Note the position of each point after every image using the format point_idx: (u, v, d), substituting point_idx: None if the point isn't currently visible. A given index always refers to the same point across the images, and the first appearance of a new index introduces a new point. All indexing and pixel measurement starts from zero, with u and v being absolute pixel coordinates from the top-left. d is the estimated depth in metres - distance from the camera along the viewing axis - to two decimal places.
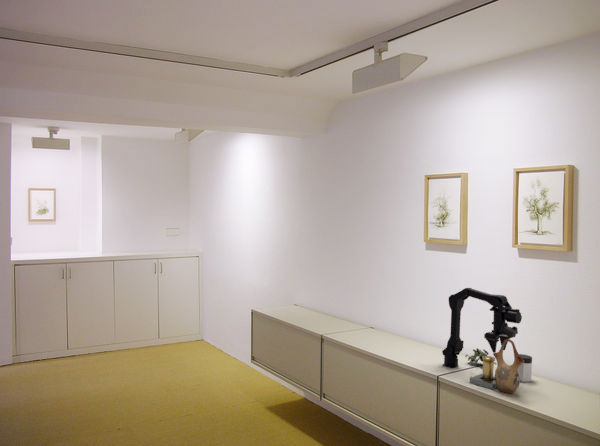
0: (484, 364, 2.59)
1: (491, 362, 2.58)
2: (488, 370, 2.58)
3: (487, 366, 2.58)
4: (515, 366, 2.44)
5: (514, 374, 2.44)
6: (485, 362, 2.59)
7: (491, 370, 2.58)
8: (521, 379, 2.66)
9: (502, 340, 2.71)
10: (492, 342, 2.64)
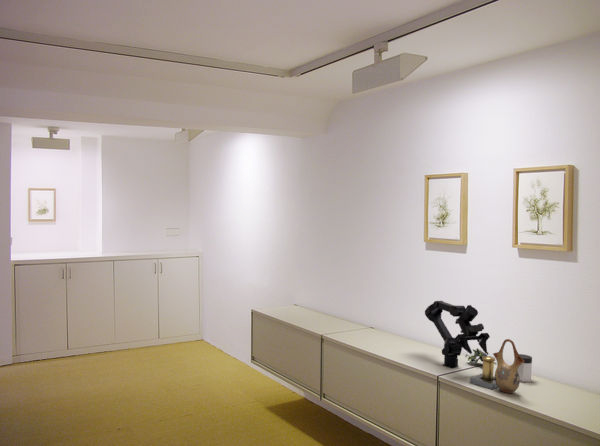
0: (484, 364, 2.59)
1: (491, 362, 2.58)
2: (488, 370, 2.58)
3: (487, 366, 2.58)
4: (515, 366, 2.44)
5: (514, 374, 2.44)
6: (485, 362, 2.59)
7: (491, 370, 2.58)
8: (521, 379, 2.66)
9: (481, 345, 2.72)
10: (464, 345, 2.68)
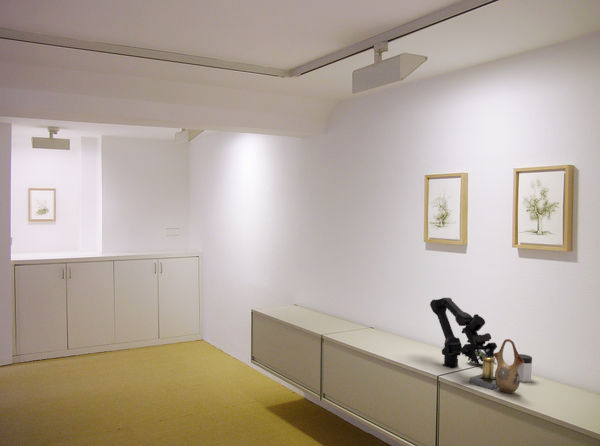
0: (484, 364, 2.59)
1: (491, 362, 2.58)
2: (488, 370, 2.58)
3: (487, 366, 2.58)
4: (515, 366, 2.44)
5: (514, 374, 2.44)
6: (485, 362, 2.59)
7: (491, 370, 2.58)
8: (521, 379, 2.66)
9: (489, 355, 2.67)
10: (471, 355, 2.63)
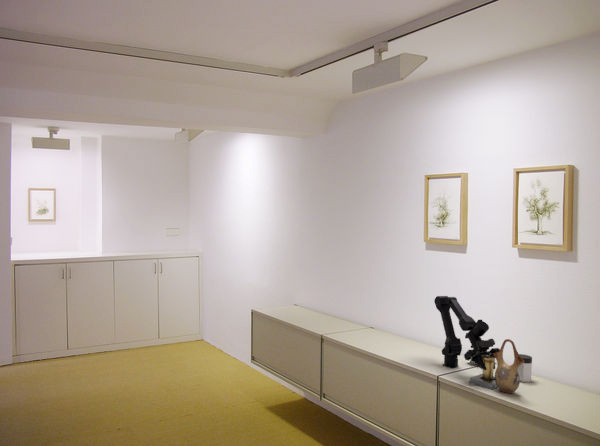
0: (484, 364, 2.59)
1: (491, 362, 2.58)
2: (488, 370, 2.58)
3: (487, 366, 2.58)
4: (515, 366, 2.44)
5: (514, 374, 2.44)
6: (485, 362, 2.59)
7: (491, 370, 2.58)
8: (521, 379, 2.66)
9: None
10: (478, 360, 2.61)
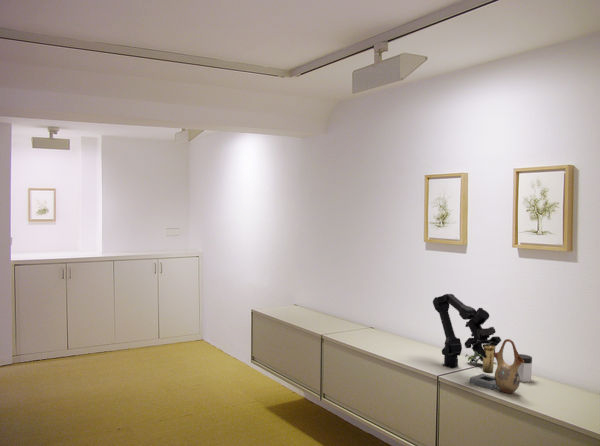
0: None
1: (491, 350, 2.58)
2: (488, 358, 2.58)
3: (488, 354, 2.58)
4: (515, 366, 2.44)
5: (514, 374, 2.44)
6: (485, 350, 2.59)
7: (491, 358, 2.58)
8: (521, 379, 2.66)
9: None
10: (478, 348, 2.61)
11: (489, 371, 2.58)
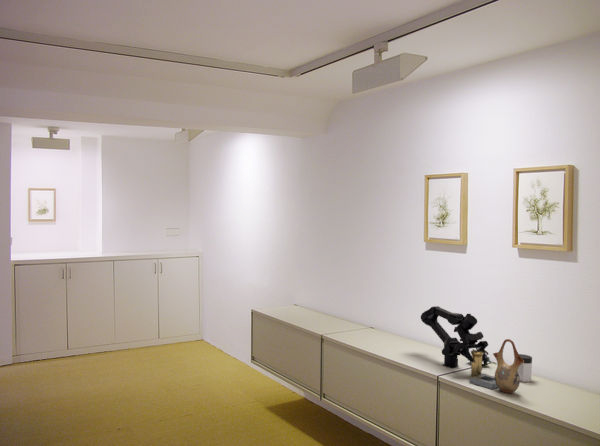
0: (473, 358, 2.69)
1: (480, 356, 2.68)
2: (477, 364, 2.68)
3: (476, 360, 2.68)
4: (515, 366, 2.44)
5: (514, 374, 2.44)
6: (474, 356, 2.69)
7: (480, 364, 2.68)
8: (521, 379, 2.66)
9: None
10: (466, 353, 2.70)
11: None
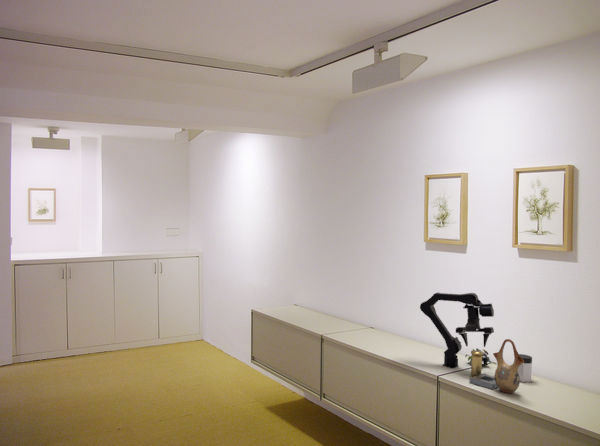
0: (473, 358, 2.69)
1: (480, 356, 2.68)
2: (477, 364, 2.68)
3: (476, 360, 2.68)
4: (515, 366, 2.44)
5: (514, 374, 2.44)
6: (474, 356, 2.69)
7: (480, 364, 2.68)
8: (521, 379, 2.66)
9: None
10: None
11: None
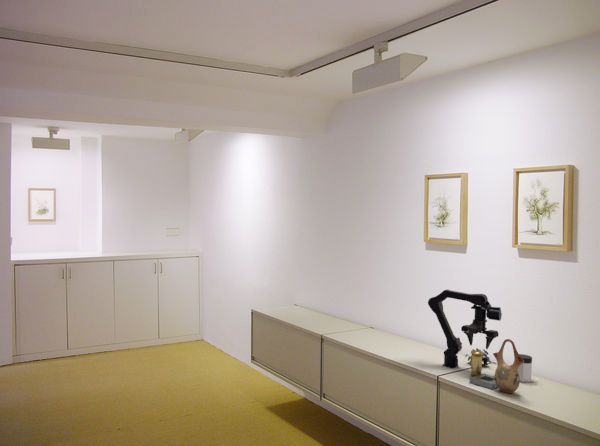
0: (473, 358, 2.69)
1: (480, 356, 2.68)
2: (477, 364, 2.68)
3: (476, 360, 2.68)
4: (515, 366, 2.44)
5: (514, 374, 2.44)
6: (474, 356, 2.69)
7: (480, 364, 2.68)
8: (521, 379, 2.66)
9: None
10: None
11: None
